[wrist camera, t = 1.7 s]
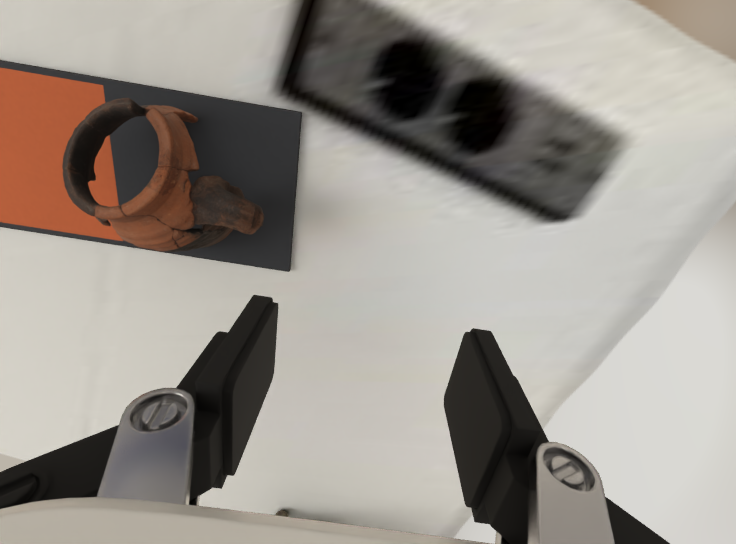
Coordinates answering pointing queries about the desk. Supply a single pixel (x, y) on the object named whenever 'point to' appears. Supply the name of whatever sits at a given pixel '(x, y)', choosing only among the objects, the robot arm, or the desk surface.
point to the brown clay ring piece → (158, 184)
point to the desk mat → (142, 159)
